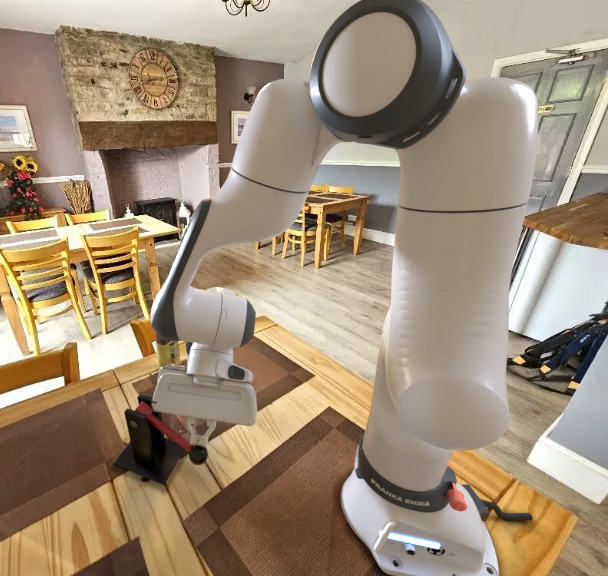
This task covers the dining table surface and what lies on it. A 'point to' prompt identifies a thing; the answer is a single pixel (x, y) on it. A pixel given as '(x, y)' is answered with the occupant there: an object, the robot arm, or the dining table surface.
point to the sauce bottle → (167, 352)
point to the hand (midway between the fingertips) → (198, 445)
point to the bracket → (148, 446)
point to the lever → (175, 436)
